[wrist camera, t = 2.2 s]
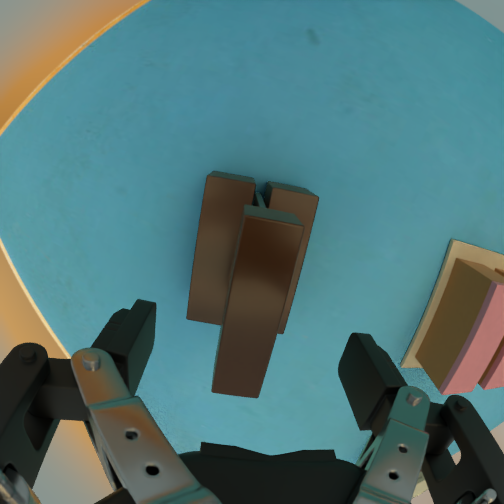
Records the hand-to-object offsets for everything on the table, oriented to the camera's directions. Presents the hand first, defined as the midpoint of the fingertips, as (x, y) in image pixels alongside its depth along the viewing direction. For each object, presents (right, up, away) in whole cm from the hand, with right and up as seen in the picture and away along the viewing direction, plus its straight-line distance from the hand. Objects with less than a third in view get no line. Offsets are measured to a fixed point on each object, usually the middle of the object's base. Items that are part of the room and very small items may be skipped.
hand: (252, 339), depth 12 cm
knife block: (0, +4, +12) cm, 13 cm away
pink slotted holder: (+23, -3, +15) cm, 28 cm away
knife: (0, +4, +12) cm, 13 cm away
